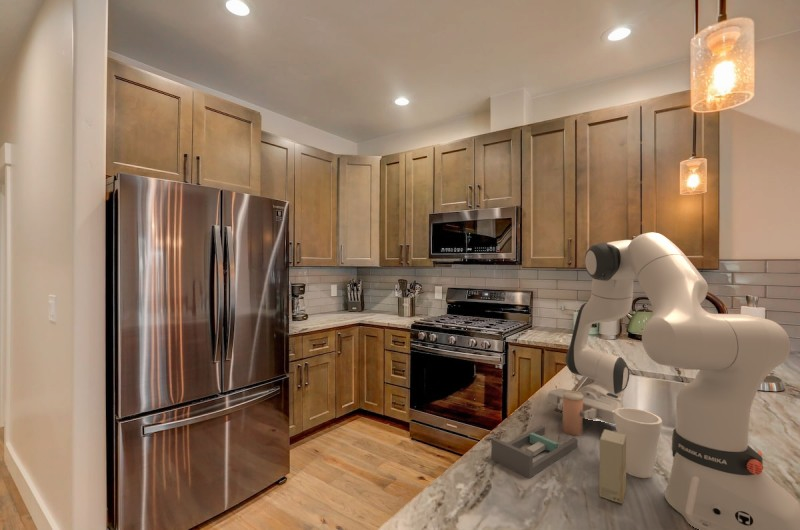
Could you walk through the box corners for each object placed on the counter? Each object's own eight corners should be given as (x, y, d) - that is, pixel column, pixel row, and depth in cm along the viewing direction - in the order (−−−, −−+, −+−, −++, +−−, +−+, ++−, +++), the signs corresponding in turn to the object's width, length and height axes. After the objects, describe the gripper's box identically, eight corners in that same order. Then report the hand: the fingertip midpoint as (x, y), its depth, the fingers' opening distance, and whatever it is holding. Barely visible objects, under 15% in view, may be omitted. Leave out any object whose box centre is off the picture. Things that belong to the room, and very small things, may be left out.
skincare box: (622, 505, 74) (623, 445, 74) (597, 496, 77) (599, 438, 77) (626, 490, 80) (627, 434, 79) (602, 482, 82) (604, 428, 82)
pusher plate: (532, 441, 100) (532, 432, 100) (557, 452, 94) (557, 442, 94) (517, 449, 96) (517, 440, 95) (543, 461, 90) (543, 451, 90)
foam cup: (637, 484, 82) (639, 426, 81) (604, 462, 90) (605, 409, 90) (670, 478, 84) (672, 421, 84) (634, 457, 93) (636, 406, 93)
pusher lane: (540, 432, 106) (541, 414, 106) (577, 446, 98) (577, 428, 98) (491, 459, 91) (491, 438, 91) (529, 478, 83) (529, 456, 83)
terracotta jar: (585, 431, 107) (586, 393, 106) (577, 437, 103) (578, 398, 103) (567, 425, 111) (568, 388, 111) (558, 430, 107) (559, 392, 107)
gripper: (560, 381, 123) (538, 390, 114) (628, 399, 107) (608, 411, 99) (559, 400, 123) (537, 410, 114) (628, 421, 107) (608, 435, 99)
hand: (571, 411), depth 106 cm, fingers closed on terracotta jar, 5 cm apart
